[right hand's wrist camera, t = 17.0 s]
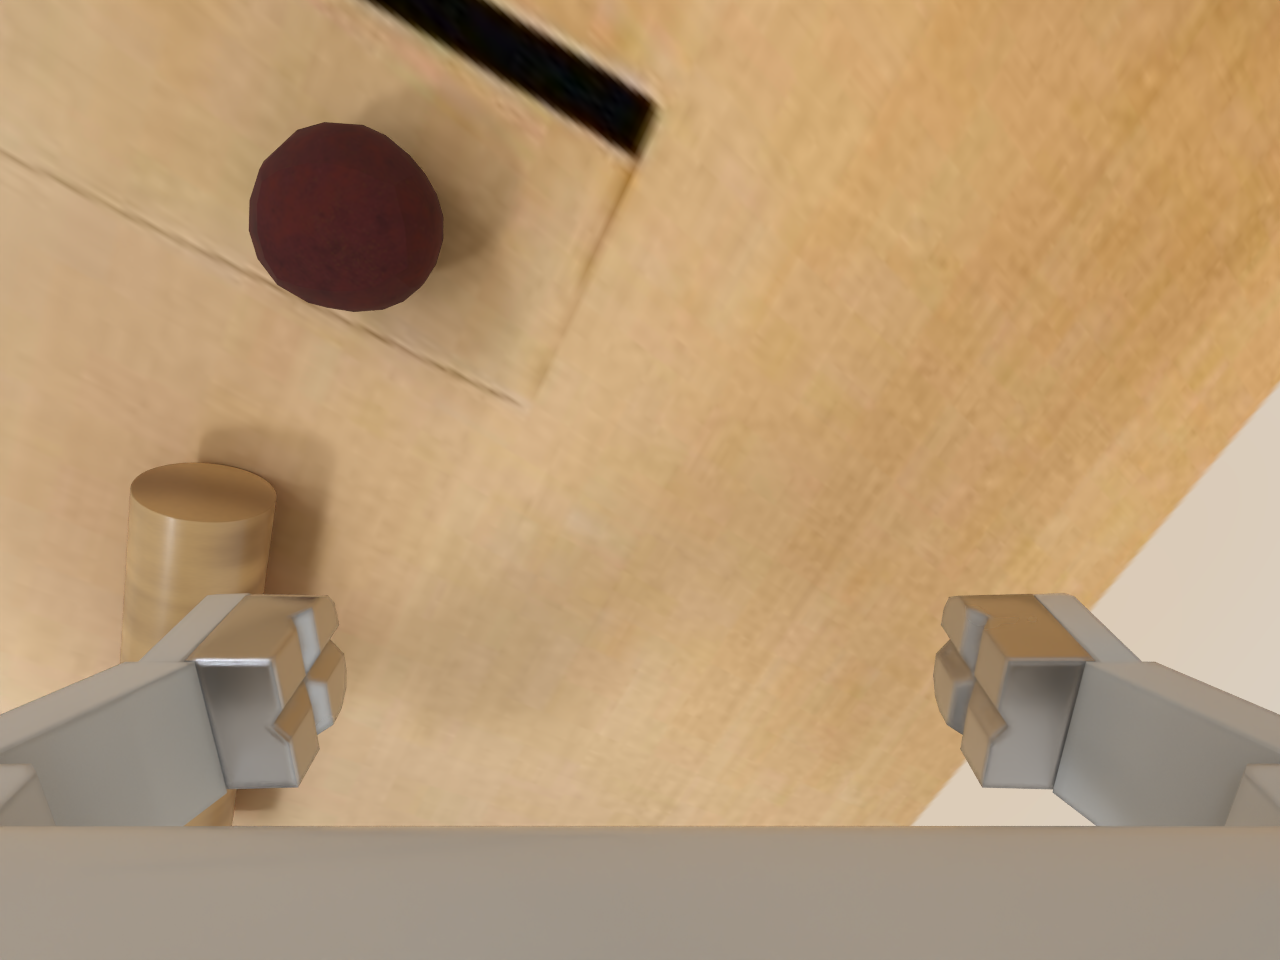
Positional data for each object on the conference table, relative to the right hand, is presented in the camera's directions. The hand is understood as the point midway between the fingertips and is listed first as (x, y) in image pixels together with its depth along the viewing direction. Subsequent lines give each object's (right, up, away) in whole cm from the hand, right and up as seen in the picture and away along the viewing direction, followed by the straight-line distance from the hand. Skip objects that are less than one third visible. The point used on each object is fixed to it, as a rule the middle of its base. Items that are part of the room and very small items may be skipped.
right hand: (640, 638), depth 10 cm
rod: (-24, -8, +34) cm, 42 cm away
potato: (-12, +14, +25) cm, 31 cm away
